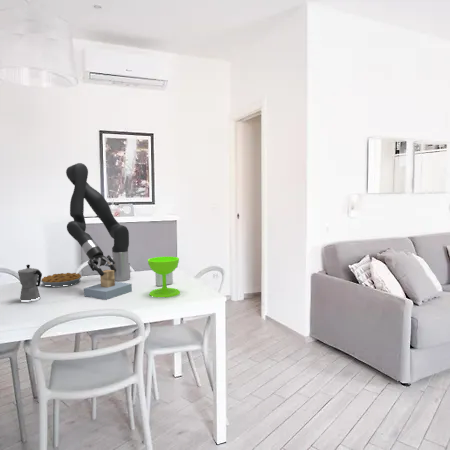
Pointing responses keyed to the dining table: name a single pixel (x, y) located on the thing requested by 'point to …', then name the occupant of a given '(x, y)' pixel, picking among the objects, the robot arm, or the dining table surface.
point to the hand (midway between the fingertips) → (109, 273)
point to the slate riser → (107, 290)
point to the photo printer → (168, 279)
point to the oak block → (107, 278)
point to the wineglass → (164, 274)
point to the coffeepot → (29, 283)
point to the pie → (61, 279)
